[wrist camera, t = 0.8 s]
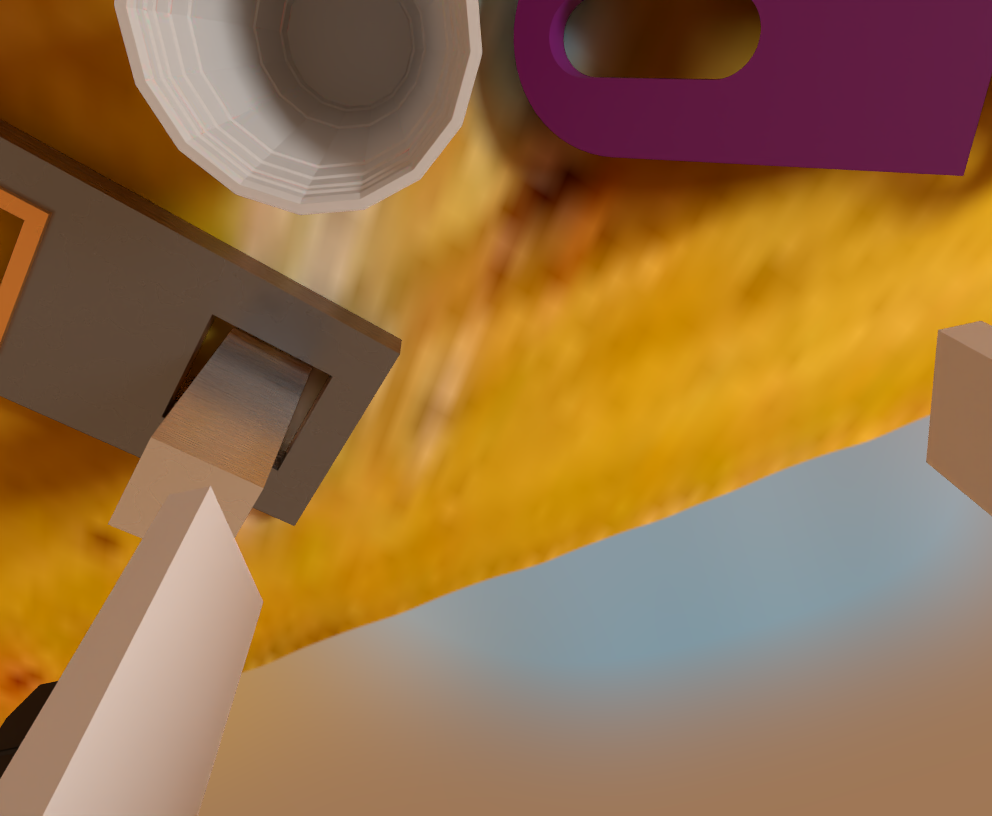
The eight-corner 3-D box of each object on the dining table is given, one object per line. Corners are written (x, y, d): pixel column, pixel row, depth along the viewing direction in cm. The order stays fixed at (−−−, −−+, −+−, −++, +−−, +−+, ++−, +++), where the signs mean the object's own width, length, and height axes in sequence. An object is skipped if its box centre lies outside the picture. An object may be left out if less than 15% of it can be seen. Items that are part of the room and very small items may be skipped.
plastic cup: (211, -130, 29) (76, -244, 18) (479, -89, 30) (504, -172, 19) (223, 154, 33) (122, 199, 23) (455, 180, 35) (464, 234, 24)
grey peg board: (-200, 279, 34) (-241, 293, 32) (-140, 42, 30) (-181, 41, 28) (300, 505, 42) (293, 529, 40) (401, 340, 38) (399, 356, 36)
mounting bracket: (564, 135, 40) (931, 153, 34) (511, 151, 33) (962, 177, 27) (574, -67, 36) (994, -87, 30) (516, -100, 29) (1051, -134, 23)
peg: (200, 393, 38) (107, 524, 28) (233, 327, 37) (150, 437, 26) (276, 430, 40) (216, 568, 29) (312, 367, 38) (263, 488, 27)
